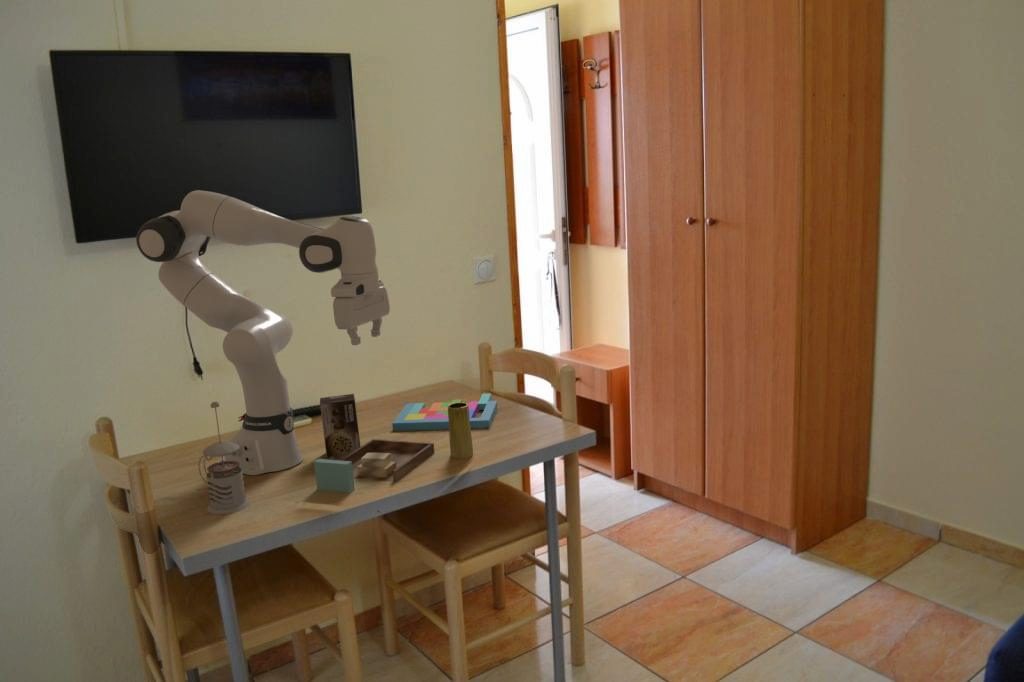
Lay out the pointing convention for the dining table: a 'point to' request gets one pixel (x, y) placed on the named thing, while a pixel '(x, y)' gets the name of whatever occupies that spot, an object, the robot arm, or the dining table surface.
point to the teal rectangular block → (334, 475)
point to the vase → (460, 431)
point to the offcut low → (377, 470)
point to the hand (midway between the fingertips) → (366, 340)
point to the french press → (224, 478)
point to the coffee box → (340, 425)
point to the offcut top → (376, 459)
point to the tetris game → (443, 415)
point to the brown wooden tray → (392, 456)
